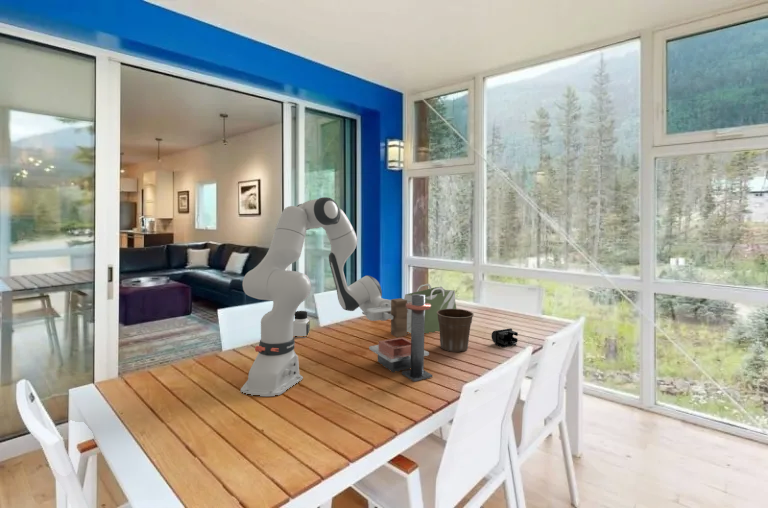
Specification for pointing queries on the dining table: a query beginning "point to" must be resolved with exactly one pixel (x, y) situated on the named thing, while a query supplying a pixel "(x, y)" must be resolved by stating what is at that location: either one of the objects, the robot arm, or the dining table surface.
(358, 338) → the dining table surface
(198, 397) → the dining table surface
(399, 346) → the bracket
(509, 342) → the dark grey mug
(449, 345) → the plant pot
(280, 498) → the dining table surface
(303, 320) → the medicine bottle
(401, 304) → the tall wooden post
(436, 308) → the grocery bag
